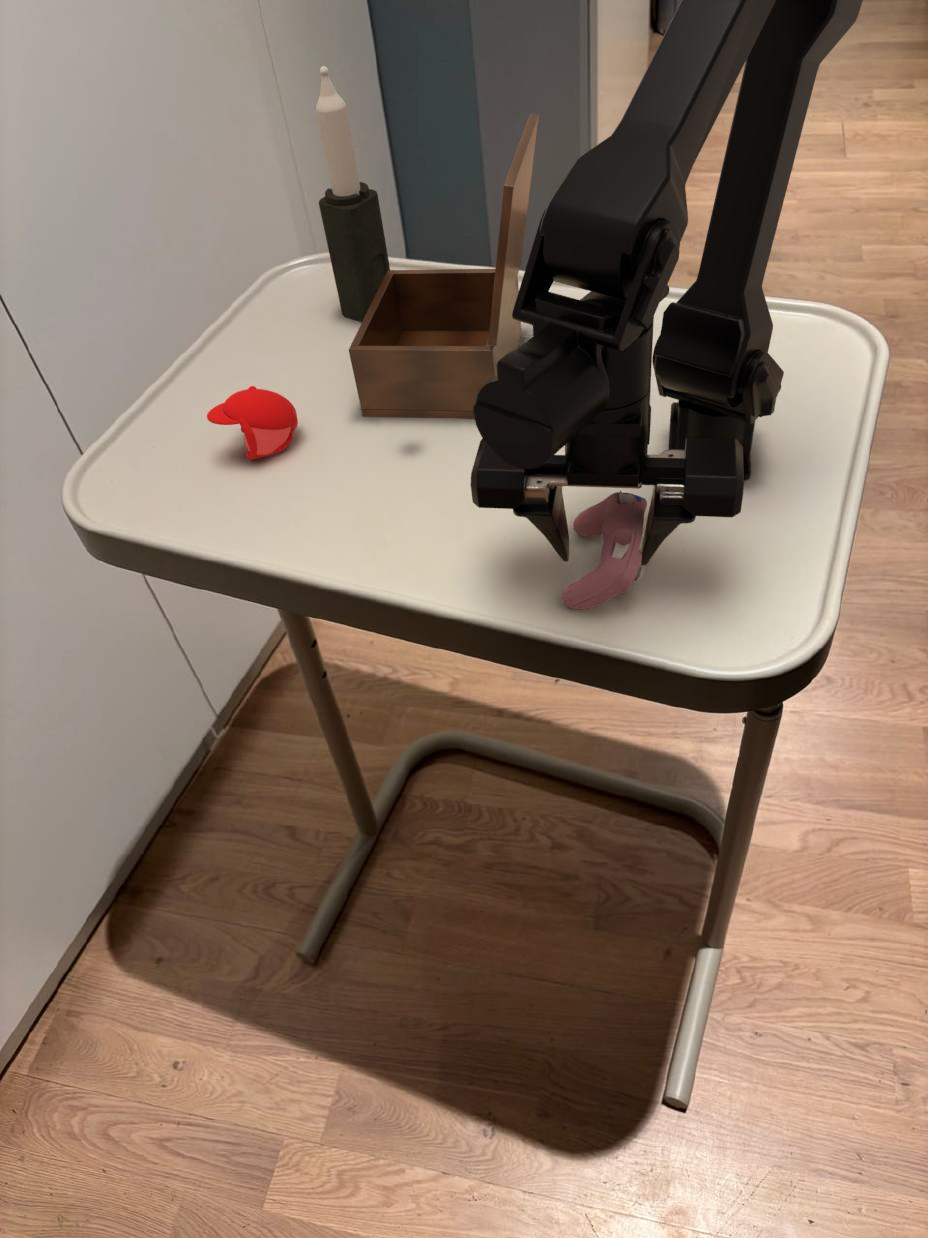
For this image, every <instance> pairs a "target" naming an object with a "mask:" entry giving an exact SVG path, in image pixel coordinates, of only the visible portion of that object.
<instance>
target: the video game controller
mask: <svg viewBox="0 0 928 1238" xmlns="http://www.w3.org/2000/svg"><path fill="white" fill-rule="evenodd" d="M647 505H648V501H647V499H646V498H645V497H643V496H639V495H637V494H634V493H633V492H622V491H621V490H620V491H618V492H617V491H615V492H613V493H612V494H610V495H608V496H607V497H605V498H604V499H603V500H601V501H600V502H598V503H596V504H594V505H591V506H590V507H588V508H586V509H585V510H583V511H581V512H579V514H578V515H577V516H576V517H575V519H574V520H573V523H572V529H573V530H574V532H575V533H576V534H577V535H578V536H581V537H596V536H602V542H603V543H602V549H601V553H600V554H601V555H600V562H599V563H598V565H597V566H596V567H595V568H594V569H593V570H592V571H590V572H589V573H587V574H586V575H584V576H582V577H580V578H578V579H577V580H575V581H574V582H572V583H571V584H568V585H567V587H566V588H565V589H564V590H563V591H562V594H561V601H562V603H563V605H565V607H567V608H569V609H575V610H584V609H590V608H594V607H595V608H596V607H597V606H600V605H602V604H604V603H606V602H608V601H610V600H611V599H613V598H615V597H616V596H617V595H619V594H620V593H625V592H627V591H628V590H629V589H630V587H631V586H632V585H633V583H637V582H639V580H641V578H642V576H643V574H644V569H643V567H642V566H641V560H642V550H641V549H640V547H641V544H642V539H643V534H644V523H645V514H646V509H647Z"/></svg>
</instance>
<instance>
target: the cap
mask: <svg viewBox="0 0 928 1238" xmlns="http://www.w3.org/2000/svg"><path fill="white" fill-rule="evenodd" d="M206 419H207V421H209V422H210V423H212V424H215V425H219V426H234V425H240V432H242V433H243V434H244V437H245V438H244V441H245V446H246V449H247V451H246V458H247V459H249V460H257V459H261V458H264V457H267V456H271V455H275V454H278V453H280V452H282V451H284V450H285V449H286V448H287V447H288V446H289V445H290V443H291V442H292V440H293V437H294V436H293V435H294V431H295V430H296V429H297V427H298V425H299V421H298V413H297V410H296V408H295V405H293V403H292V402H291V401H290V400H289V399H287V398H286V397H285V396H284V395H281V394H280V393H278V392H275V391H273V390H269V389H262V388H257V387H256V386H254V385H251V386H249V387H248V388H247V389H242V390H239V391H236V392H234V393H233V394H231V395H230V396H228V397H227V398H226V400H225V401H224V402H222V403H219V404H217V405H215V406H214V407H212V408H211V409H210V410H209V411H208V412H207V414H206Z"/></svg>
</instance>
